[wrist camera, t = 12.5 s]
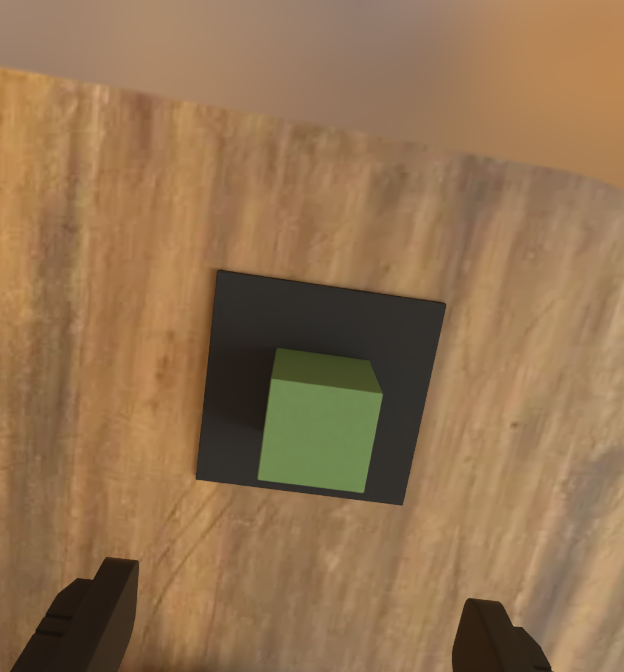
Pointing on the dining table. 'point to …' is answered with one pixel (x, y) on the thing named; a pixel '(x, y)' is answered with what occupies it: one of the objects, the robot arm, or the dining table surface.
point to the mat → (324, 338)
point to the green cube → (319, 421)
